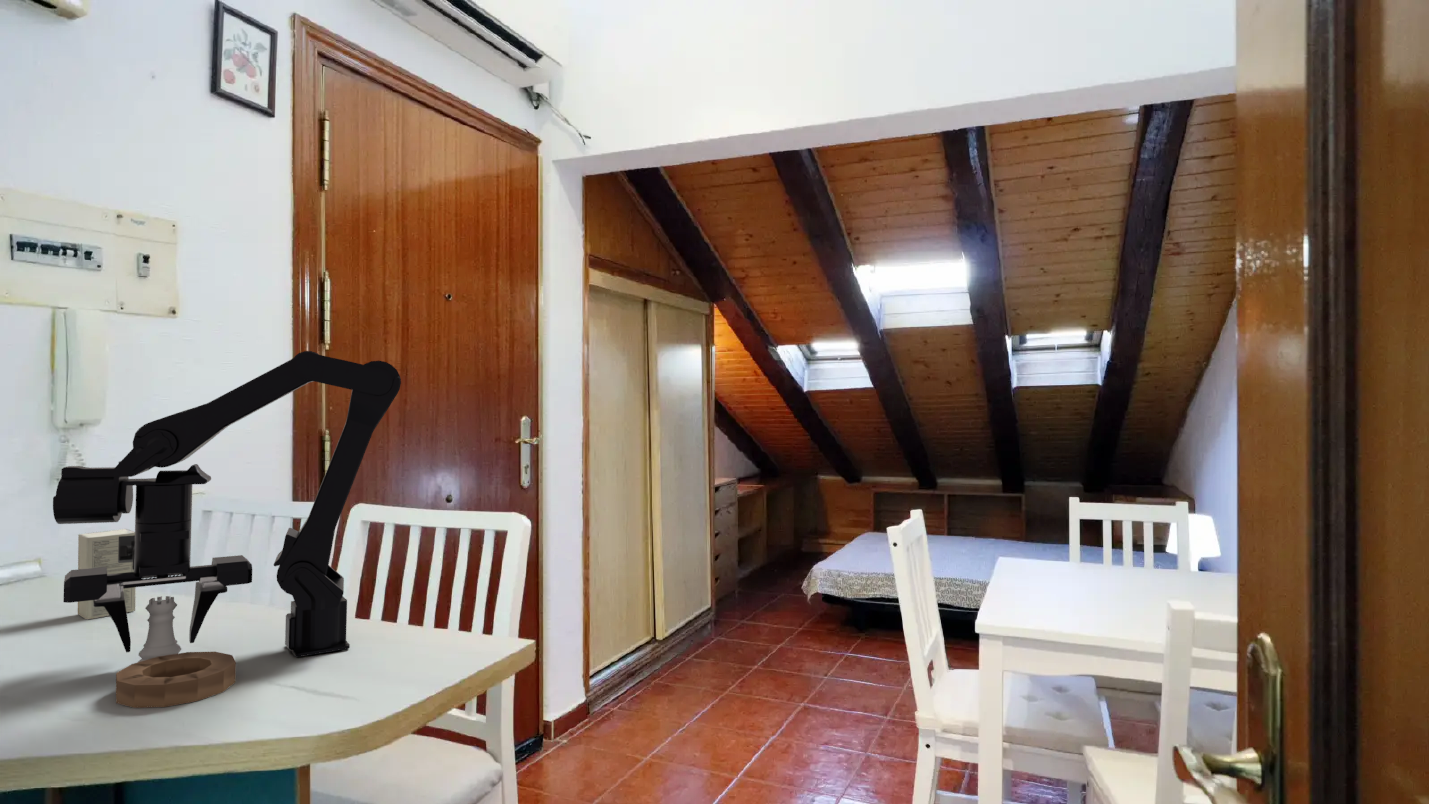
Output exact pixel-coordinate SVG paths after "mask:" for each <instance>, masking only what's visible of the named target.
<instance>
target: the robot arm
mask: <svg viewBox="0 0 1429 804" xmlns="http://www.w3.org/2000/svg"><path fill="white" fill-rule="evenodd" d="M401 380H402V378H401V376H400V374H399V371H398V370H397V369H396V367H394V366H393V365H392V364H391V363H388V362H386V361H382V360H371V361H369V362H366V363H363V364H361V363H357V362H353V361H349V360H345V359H342V358H341V359H340V358H336V357H331V356H327V355H323V354H322V355H321V354H319V353H317V352H316V351H313V350H304V351H301V352H299V353H297V354H296V355H295V356H293V358H291V359H289V360H287V361H285V362H284V363H282V364H280V365H278V366H276V367H274V368H273V369H270V370H268V371H267V372H264V373H263V374H260V375H258V376H257V377H255V378H253V379H252V380H251V379H250V380H249V381H247V382H246V383H243V384H241V385H240V386H238V387H236V388H234V389H232V390H230V391H228V392H227V393H224V394H223V395H220V396H219V397H217V398H215V399H213V400H211V401H209V402H207V403H203V404H202V405H198V406H195V407H192V408H188V409H186V410H182V411H180V412H176V413H173V414H171V415H167V416H164V417H162V418H159V419H155V420H152V421H150V422H147V423H145V424H143V425H142V426H140V428H138V429H137V431H136V432H135V433H134V436H133V440H132V449H131V450H130V451H129V452H128V453H127V454H126V455H125V457H123V458H122V460H120V461H118V464H117V465H116V466H114V467H110V466H109V467H106V466H105V467H103V466H102V467H89V466H87V467H86V466H82V465H71V466H70V465H68V466H63V467H62V468H61V476H60V479H59V481H58V484H57V486H56V490H55V491H56V492H55V495H54V496H53V497H52V510H53V511H52V513H53V518H54V521H55V522H56V524H58V525H73V524H74V525H75V524H100V523H101V524H102V523H103V524H104V523H106V524H107V523H118V522H119V521H120V520H121V517H122V514H130V513H131V511H132V508H133V504H134V503H133V502H134V486H135V514H134V515H135V517H134V518H135V519H134V522H135V523H134V532H135V535H133V536H119V541H118V563H127V562H133V563H132V568H133V570H134V572H127V573H116V574H107V567H101V568H89V569H78V568H77V569H71V570H70V571H68V572H67V573H66V574H65V575H64V580H63V603H69V604H71V603H78V602H81V601H90V600H93V606H94V607H102V606H103V607H105V609H106V610H107V612H108V614H109V615H110V616H109V617H110V618H111V620H112V621H113V623H114V625H115V627H116V630H117V632H118V635H119V637H120V640H121V643H122V645H123V648H124V650H125V652H126V653H130V652H131V646H132V645H131V643H132V642H131V633H130V628H129V620H128V612H126V605H125V598H124V591H123V588H133V587H136V588H142V587H151V586H161V585H171V584H180V583H188V582H189V583H191V582H195V589H194V600H193V605H192V606H193V607H192V611H191V618H190V626H189V634H188V635H189V643H190V644H194V643H195V641H196V639H197V636H198V634H199V631H200V629H201V628H202V625H203V623H204V621H205V618H206V616H207V614H208V612H209V610H210V609H211V608H212V606H213V603H214V602H215V600H216V599H217V598H218V596H219V594H225V593H227V592H228V587H229V586H230V587H231V586H237V585H246V584H247V585H248V584H251V583H253V564H252V563H251V562H250V561H249V560H248V558H246V556H244V555H242V554H239V555H228V556H217V557H212V560H211V564H207V565H206V564H205V565H196V566H191V558H192V557H191V555H192V553H191V552H192V514H193V513H192V512H193V511H192V510H193V508H192V507H193V506H192V505H193V485H206V484H207V483H209V482H210V481H211V480H212V477H211V475H209V474H208V473H206V472H205V471H203V469H202V468H201V467H200V466H199V464H198V463H194V464H192V465H190V467H189V468H188V469H187V470H184V469H183V470H181V469H180V470H178V469H177V470H176V469H175V470H159V471H158V472H157V474H156V478H155V477H153V478H133V477H135V476H138V475H140V474H142V473H145V472H147V471H149V470H151V469H153V468H168V467H171V466H174V465H177V464H178V463H181V462H183V461H186V460H187V459H189V458H191V456H193V454H195V453H196V452H198V451H199V450H200V449H201V448H203V447H205V445H207V444H208V443H209V442H210V441H211V440H214V438H215V437H216V436H218V435H219V434H220V433H222V432H223V431H224V430H226V429H228V427H229V426H231V425H233V424H235V423H237V422H239V421H240V420H242V419H245V418H246V417H248V416H250V415H252V414H253V413H255V412H257V411H259V410H261V409H263V408H265V407H266V406H268V405H270V404H272V403H274V402H275V401H277V400H279V399H282V398H284V397H285V396H287V395H289V394H291V393H292V392H295V391H296V390H298V389H300V388H302V387H304V386H306V385H307V384H309V383H313V382H316V383H319V384H324V385H327V386H328V385H330V386H333V387H338V388H342V389H346V390H351V394H350V398H349V400H350V401H349V404H348V411H347V415H346V420H345V423H344V427H343V429H342V431H341V434H340V437H339V439H338V442H337V444H336V447H335V449H334V450H333V451H334V452H333V454H332V456H331V459H330V462H329V464H328V466H327V469H326V472H325V475H324V477H323V478H322V482H321V484H320V487H319V490H318V491H317V495H316V496H315V500H314V502H313V504H312V507H311V510H310V512H309V514H308V517H307V518H306V520H305V522H304V523H303V525H302V526H301V528H300V529H299V530H296V529H294V528H291V527H288V529H287V531H286V534H285V536H284V541H283V547H282V550H280V552H278V553H277V555H276V558H275V561H274V563H273V566H274V567H278V569H277V572H276V581H277V583H278V585H279V587H280V589H281V590H282V591H283V592H285V593H286V594H288V595H291V596H292V599H293V601H290V612H289V613H286V614H285V630H284V632H285V633H284V634H285V636H284V645H285V646H286V647H287V649H288V650H289V651H290V652H291V653H292V655H294V657H295V658H299V657H306V656H312V655H317V654H318V655H319V654H324V653H330V652H336V651H342V650H348V649H350V645H351V644H350V643H349V642H348V641H347V620H348V618H347V617H348V616H347V615H348V611H347V610H348V599H347V598H346V597H344V596H343V595H344V593H345V591H344V589H345V584H344V583H345V578H344V576H342V575H341V574H340V572H338V571H336V570H335V569H334V568H333V567H332V566H330V565H329V564H330V559H331V553H332V548H333V543H334V537H335V533H336V528H337V525H338V522H339V520H340V517H341V515H342V513H343V510H344V507H345V506H346V505H345V504H346V502H347V499H348V497H349V494H350V492H351V490H352V487H353V484H354V482H355V479H356V476H357V474H358V472H359V469H360V466H361V463H362V461H363V459H364V457H365V453H366V452H367V448H368V445H369V443H370V440H371V438H372V435H373V433H374V431H375V429H376V428H377V427H378V425H379V423H380V421H382V419H383V417H384V416H385V414H386V413H387V412H388V410H389V408H390V406H391V405H392V403H393V401H394V400H395V398H396V397H397V396H398V393H399V392H400V389H401V384H402V381H401ZM129 477H132V478H129ZM227 586H228V587H227Z"/></svg>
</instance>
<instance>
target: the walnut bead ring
mask: <svg viewBox="0 0 1429 804" xmlns="http://www.w3.org/2000/svg"><path fill="white" fill-rule="evenodd" d="M236 665H237V661H236V660H235V657H234V656H233V654H229V653H225V652H224V653H223V652H219V651H186V652H181V653H180V652H179V653H178V654H172V655H165V656H158V657H155V658H151V659H148V660H144V661H141V662H138V661H137V662H134V663H131V664H130V665H128V666H125V667H124V668H122V669H121V670H119V671H117V672H115V701H116V702H115V704H118V705H121V706H127V707H129V708H134V709H137V708H140V709H141V708H143V709H144V708H165V707H166V708H168V707H171V706H178V705H183V704H188V703H194V702H199V701H201V700H204V699H208V698H210V697H212V696H216V695H218V694H222V693H223V692H225V691H227V690H228V689H229V688H230V687H231V686H233V685H234V684H236V674H237V673H236V670H237V669H236V668H237V666H236Z"/></svg>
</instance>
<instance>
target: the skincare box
mask: <svg viewBox="0 0 1429 804" xmlns="http://www.w3.org/2000/svg"><path fill="white" fill-rule="evenodd" d="M77 535H78V541H77V542H78V547H77V549H78V550H77V553H78V554H77V559H78V560H77V561H78V562H77V563H78V565H77V570H78V569H89V568H101V567H107V574H116V573H127V572H134V570H133V568H132V563H133V562H127V563H118V541H119V536H133V535H135V530H134V531H133V530H130V529H128V528H122V529H121V528H119V529H111V530H104V531H96V532H93V531H92V532H87V533H86V532H85V533H79V534H77ZM136 588H137V587H133V588H123V591H124V598H125V605H126V612H127V613H131V612H136V602H137V601H136V598H137V597H136V595H137V593H136V591H137V589H136ZM77 615H79V616H80V617H81V618H83V619H85V620H92V619H99V618H104V617H110V615H109V614H108V612H107V610H106V609H105V607H103V606H102V607H94V606H93V600H90V601H81V602H77Z"/></svg>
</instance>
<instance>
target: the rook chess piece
mask: <svg viewBox="0 0 1429 804" xmlns="http://www.w3.org/2000/svg"><path fill="white" fill-rule="evenodd" d="M177 607H178V604H177V603H176V601H175V597H174V596H171V595H167V596H165V599H163V596H157V597H156V598H155V597H152V598H150V599H149V600H148V604H147V605H146V606H145V608H144V609H145V610H146V611H147V612H148V613H149V617H148V619H146V621H147V622H148V629H147V630H148V631H147V636H146V640H145V643H144V644H143V648H142V649H141V650H140V651H139V653H138V656H139V657H140V659H139V660H138V661H137V662H141V661H144V660H148V659H151V658H155V657H158V656H165V655H172V654H179V653H180V652H181V650H182V648H181V646H180V645H179V644H178V640H177V639H176V638H175V632H174V619H175V618H176V617H175V615H174V614H173V613H174V610H175V609H176V608H177Z"/></svg>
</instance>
